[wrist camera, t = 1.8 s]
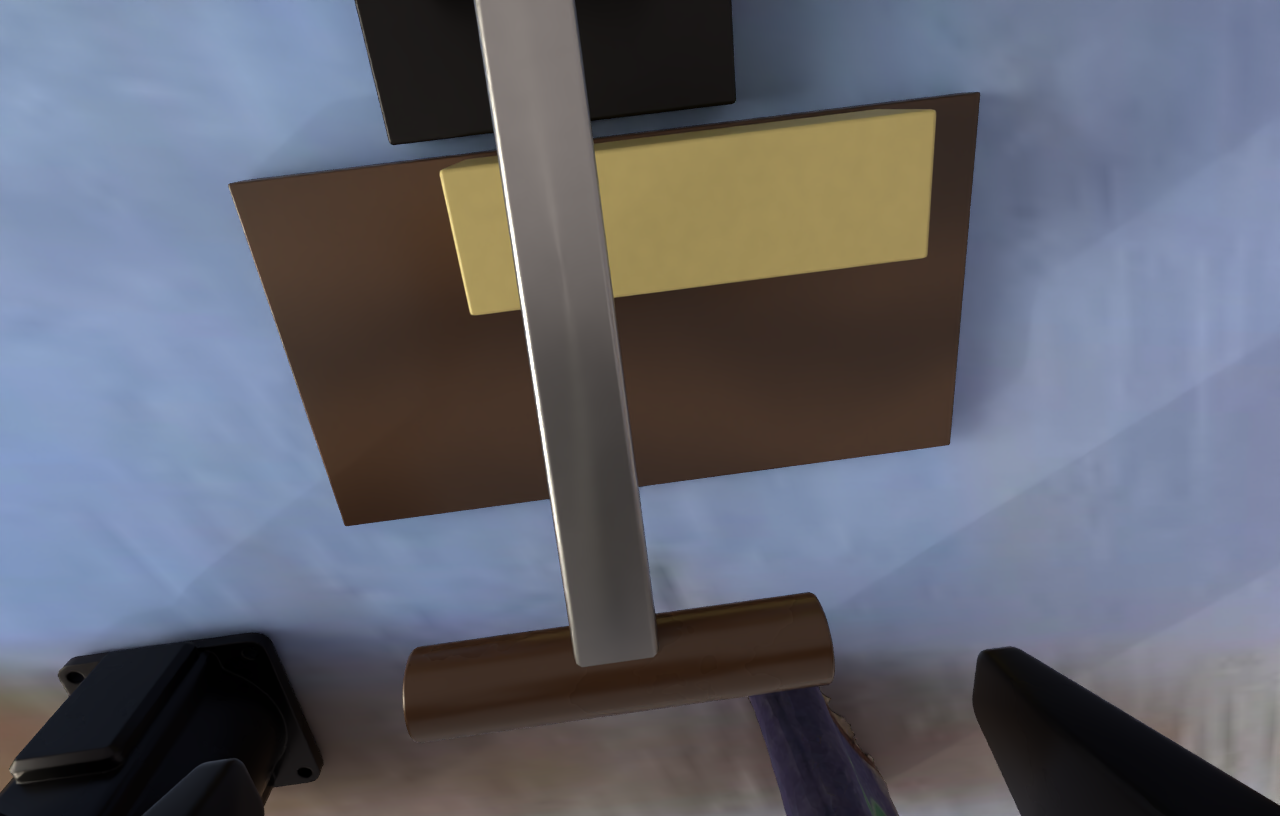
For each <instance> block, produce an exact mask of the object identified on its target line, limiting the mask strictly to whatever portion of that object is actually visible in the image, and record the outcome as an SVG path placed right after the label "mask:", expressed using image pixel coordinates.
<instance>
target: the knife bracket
mask: <svg viewBox="0 0 1280 816" xmlns="http://www.w3.org/2000/svg"><path fill="white" fill-rule="evenodd" d="M355 4H356V9H357V13H358V17H359V21H360V25H361V29H362V33H363V37H364V41H365V45H366V50H367V54H368V58H369V62H370V66H371V70H372V74H373V78H374V82H375V86H376V91H377V95H378V99H379V103H380V107H381V111H382V115H383V119H384V123H385V127H386V131H387V136H388V140H389V142H390V144H392V145H397V144H406V143H414V142H422V141H430V140H439V139H447V138H455V137H463V136H472V135H480V134H488V133H494V130H493V123H492V117H491V110H490V104H489V97H488V91H487V84H486V78H485V71H484V64H483V58H482V51H481V45H480V38H479V32H478V25H477V19H476V12H475V5H474V0H355ZM575 5H576V12H577V20H578V28H579V35H580V43H581V51H582V58H583V66H584V74H585V81H586V89H587V97H588V104H589V112H590V119H591V121H595V120H604V119H612V118H620V117H628V116H637V115H645V114H653V113H661V112H670V111H678V110H686V109H694V108H703V107H711V106H719V105H727V104H733V103H735V101H736V87H735V66H734V45H733V24H732V3H731V0H575Z"/></svg>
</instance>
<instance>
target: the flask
mask: <svg viewBox="0 0 1280 816" xmlns="http://www.w3.org/2000/svg"><path fill="white" fill-rule="evenodd" d="M748 699H750V703H751V704H752V706H753V708H754V710H755V713H756V717H757V720H758V722H759V724H760V728H761V731H762V735H763V737H764V740H765V742H766V746H767V749H768V752H769V756H770V759H771V763H772V767H773V770H774V773H775V776H776V780H777V783H778V786H779V789H780V792H781V796H782V800H783V804H784V808H785V811H786V814H787V816H899V815H898V812H897V810H896V808H895V806H894V804H893V802H892V800H891V798H890V796H889V792H888V788H887V785H886V782H885V781H884V779H883V778H882V776H881V775H880V773H879V772H878V770H877V768H876V766H875V765H874V760H873V758H871V756H870V755H868V757H866V755H865V754H864V753H863V752H862V751H861V749H860V748H859V746H858V744H856V739H854V738H853V737H854V736H855V734H854V733H853V731H852V730H851V728H850V726H851V725H850V724H848V723H847V722H846V720H845V718H843V717H840V716H841V715H840V716H838V715H837V714H835V713H833V712H831V710H830V708H829V706H828V704H829V701H830V699H831V698H827V697H826V696H824V695H823V694H821V691H820V689H819V687H818V686H816V687H809V688H802V689H795V690H788V691H781V692H774V693H767V694H760V695H753V696H748Z"/></svg>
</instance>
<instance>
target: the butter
mask: <svg viewBox="0 0 1280 816" xmlns="http://www.w3.org/2000/svg"><path fill="white" fill-rule="evenodd" d="M935 126H936V111H935V110H933V109H874V110H866V111H858V112H850V113H842V114H833V115H825V116H817V117H809V118H801V119H792V120H784V121H776V122H768V123H760V124H752V125H743V126H735V127H727V128H719V129H711V130H702V131H694V132H686V133H678V134H670V135H661V136H653V137H645V138H637V139H629V140H621V141H612V142H604V143H596V144H594V150H595V158H596V165H597V173H598V181H599V188H600V196H601V204H602V211H603V219H604V227H605V234H606V242H607V249H608V257H609V265H610V272H611V280H612V288H613V295H614V298H616V297H624V296H632V295H639V294H647V293H655V292H663V291H671V290H679V289H686V288H694V287H702V286H710V285H718V284H725V283H733V282H741V281H749V280H757V279H765V278H772V277H780V276H788V275H796V274H804V273H812V272H819V271H827V270H835V269H843V268H851V267H858V266H866V265H874V264H882V263H890V262H898V261H905V260H913V259H921V258H924V257H927V253H928V237H929V221H930V206H931V190H932V174H933V158H934V142H935ZM440 179H441V183H442V188H443V192H444V197H445V201H446V206H447V211H448V215H449V220H450V224H451V229H452V233H453V238H454V242H455V247H456V252H457V256H458V261H459V265H460V270H461V274H462V279H463V283H464V288H465V293H466V297H467V302H468V306H469V311H470V313H471V314H472V315H483V314H491V313H499V312H506V311H514V310H521V307H520V300H519V294H518V287H517V281H516V274H515V267H514V261H513V254H512V248H511V241H510V235H509V228H508V222H507V215H506V209H505V202H504V195H503V189H502V182H501V176H500V169H499V163H498V156H490V157H481V158H473V159H466V160H463V161H461V162H459V163H456V164H454V165H451V166H449V167H447V168H444V169H442V170H441V171H440Z"/></svg>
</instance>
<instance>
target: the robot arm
mask: <svg viewBox="0 0 1280 816" xmlns="http://www.w3.org/2000/svg"><path fill="white" fill-rule="evenodd" d="M250 647H252V648H255V649H257V650H258V651H257V650H253V649H251V648H250ZM58 676H59V679H60V681H61V683H62V685H63V686H64V688H65V690H66V691H67V693H68V694H69V697H68V699H67V700H66V701H65V702H64V703H63V704H62V705H61V707H60V708H59V709H58V710H57V711H56V712H55V713H54V715H53V716H52V717H51V718H50V719H49V720H48V721H47V723H46V724H45V725H44V726H43V727H42V728H41V729H40V731H39V732H38V733H37V734H36V735H35V736H34V737H33V739H32V740H31V741H30V742H29V743H28V744H27V745H26V747H25V748H24V749H23V750H22V751H21V752H20V753H19V755H18V756H17V757H16V758H15V760H14V761H13V763H12V765H11V766H10V768H9V770H10V773H11V774H12V775H13V778H12V780H11V781H10V782H9V783H8V784H7V785H6V787H5V788H4V789H3V790H2V791H1V793H0V816H264V806H265V803H266V801H267V799H268V797H269V795H270V792H271V790H272V788H273V787H280V786H287V785H294V784H301V783H308V782H312V781H315V780H316V779H317V778H318V777H319V775H320V772H321V770H322V767H323V765H324V764H323V759H322V757H321V755H320V752H319V750H318V748H317V745H316V743H315V741H314V739H313V736H312V734H311V732H310V729H309V727H308V725H307V722H306V720H305V718H304V715H303V713H302V711H301V708H300V706H299V704H298V701H297V699H296V697H295V694H294V692H293V690H292V688H291V685H290V683H289V681H288V678H287V676H286V674H285V671H284V669H283V667H282V664H281V662H280V660H279V657H278V655H277V653H276V650H275V648H274V646H273V644H272V642H271V640H270V639H269V638H268V637H267V636H265V635H264V634H260V633H244V634H237V635H230V636H222V637H215V638H208V639H201V640H194V641H186V642H179V643H171V644H164V645H157V646H150V647H143V648H135V649H128V650H121V651H114V652H107V653H99V654H92V655H85V656H78V657H74V658H72V659H70V660H69V661H68V662H67V663H66V664H65V665H64V667H63V668H62V669H61V670H60V671H59V674H58ZM972 701H973V708H974V712H975V715H976V718H977V721H978V723H979V725H980V727H981V729H982V732H983V734H984V736H985V738H986V740H987V742H988V745H989V747H990V749H991V751H992V753H993V755H994V758H995V760H996V762H997V764H998V766H999V769H1000V771H1001V773H1002V775H1003V777H1004V779H1005V782H1006V784H1007V786H1008V788H1009V790H1010V792H1011V795H1012V797H1013V799H1014V801H1015V803H1016V805H1017V808H1018V810H1019V812H1020V814H1021V816H1280V805H1278V804H1276V803H1275V802H1273V801H1271V800H1270V799H1268V798H1266V797H1265V796H1263V795H1261V794H1260V793H1258V792H1256V791H1255V790H1253V789H1251V788H1250V787H1248V786H1246V785H1245V784H1243V783H1242V782H1240V781H1238V780H1237V779H1235V778H1233V777H1232V776H1230V775H1228V774H1227V773H1225V772H1223V771H1222V770H1220V769H1218V768H1217V767H1215V766H1213V765H1212V764H1210V763H1208V762H1207V761H1205V760H1203V759H1202V758H1200V757H1198V756H1197V755H1195V754H1193V753H1192V752H1190V751H1188V750H1187V749H1185V748H1183V747H1182V746H1180V745H1178V744H1177V743H1175V742H1173V741H1172V740H1170V739H1168V738H1167V737H1165V736H1163V735H1162V734H1160V733H1158V732H1157V731H1155V730H1154V729H1152V728H1150V727H1149V726H1147V725H1145V724H1144V723H1142V722H1140V721H1139V720H1137V719H1135V718H1134V717H1132V716H1130V715H1129V714H1127V713H1125V712H1124V711H1122V710H1120V709H1119V708H1117V707H1115V706H1114V705H1112V704H1110V703H1109V702H1107V701H1105V700H1104V699H1102V698H1100V697H1099V696H1097V695H1095V694H1094V693H1092V692H1090V691H1089V690H1087V689H1085V688H1084V687H1082V686H1080V685H1079V684H1077V683H1075V682H1074V681H1072V680H1070V679H1069V678H1067V677H1066V676H1064V675H1062V674H1061V673H1059V672H1057V671H1056V670H1054V669H1052V668H1051V667H1049V666H1047V665H1046V664H1044V663H1042V662H1041V661H1039V660H1037V659H1036V658H1034V657H1032V656H1031V655H1029V654H1027V653H1026V652H1024V651H1022V650H1020V649H1018V648H1016V647H1011V646H1008V647H1000V648H993V649H987V650H983V651H981V652H980V654H979V655H978V658H977V664H976V672H975V680H974V688H973V698H972Z"/></svg>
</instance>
